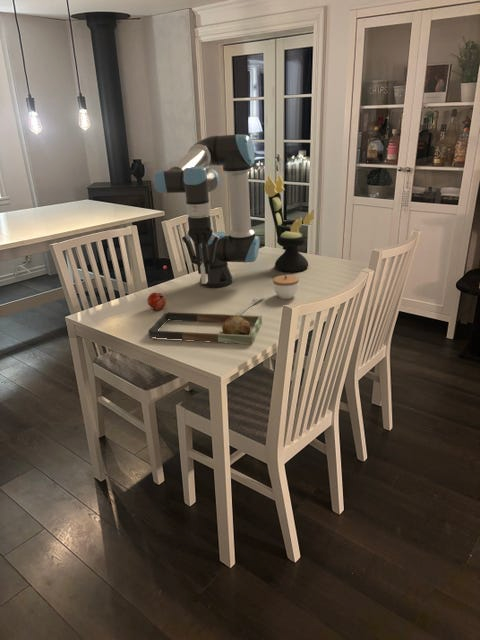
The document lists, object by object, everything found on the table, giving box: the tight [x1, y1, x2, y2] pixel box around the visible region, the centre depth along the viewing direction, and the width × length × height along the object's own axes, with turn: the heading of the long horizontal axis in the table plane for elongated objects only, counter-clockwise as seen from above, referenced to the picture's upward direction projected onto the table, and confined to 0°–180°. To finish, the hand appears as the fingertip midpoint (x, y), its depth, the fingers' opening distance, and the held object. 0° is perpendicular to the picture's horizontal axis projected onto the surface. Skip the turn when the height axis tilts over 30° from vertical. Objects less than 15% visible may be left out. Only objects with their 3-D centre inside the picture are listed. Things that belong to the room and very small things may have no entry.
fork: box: [234, 296, 266, 315], centre depth 196 cm, size 3×21×3 cm, turn 146°
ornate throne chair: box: [263, 174, 315, 273], centre depth 232 cm, size 19×22×45 cm
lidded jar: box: [272, 274, 300, 300], centre depth 202 cm, size 11×11×9 cm
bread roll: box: [221, 316, 252, 335], centre depth 172 cm, size 10×10×8 cm
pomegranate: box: [146, 292, 167, 311], centre depth 198 cm, size 7×7×10 cm
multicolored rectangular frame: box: [148, 311, 263, 345], centre depth 175 cm, size 18×38×3 cm, turn 77°
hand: (204, 282), depth 169 cm, fingers closed
